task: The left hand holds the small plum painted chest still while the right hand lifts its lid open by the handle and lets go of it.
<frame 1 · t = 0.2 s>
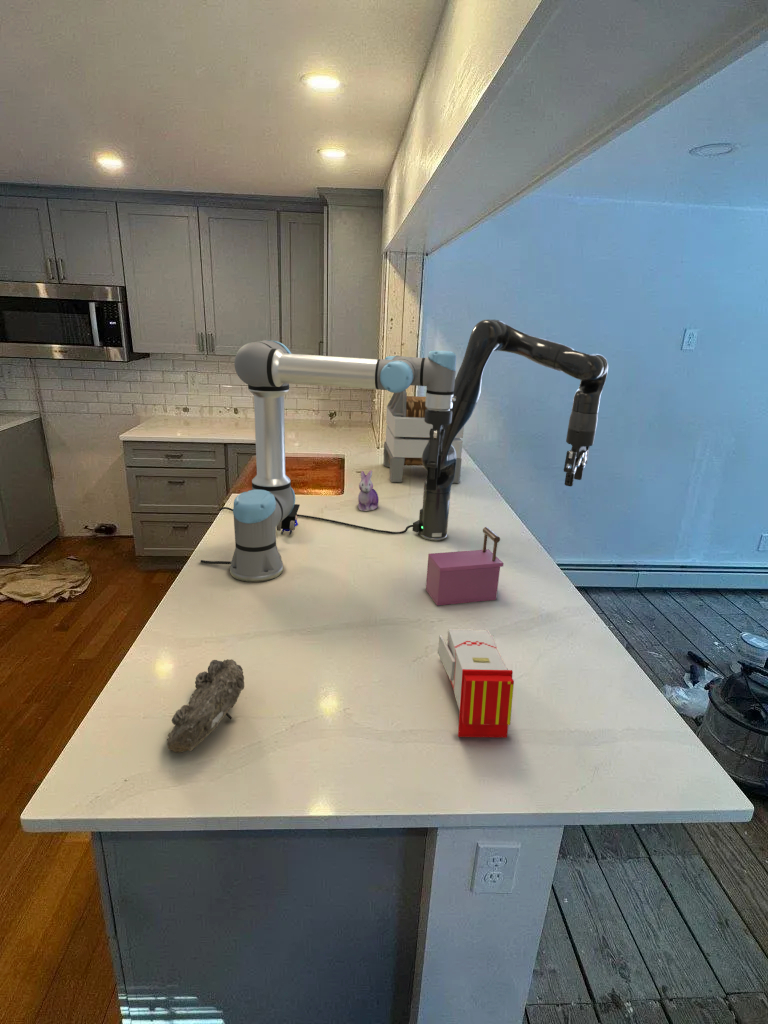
left hand: (433, 482, 163), 28 cm above the counter, tool pointing down, fingers open, 13 cm apart
right hand: (573, 482, 165), 29 cm above the counter, tool pointing down, fingers open, 8 cm apart
figurine: (367, 508, 224), on the counter
chest: (460, 594, 159), on the counter
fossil: (212, 717, 108), on the counter
grey slatted box: (419, 473, 275), on the counter
lid: (466, 547, 154), point 14 cm above the counter, hinge at 0.0°
figurine character: (288, 529, 199), on the counter
toy: (469, 691, 119), on the counter
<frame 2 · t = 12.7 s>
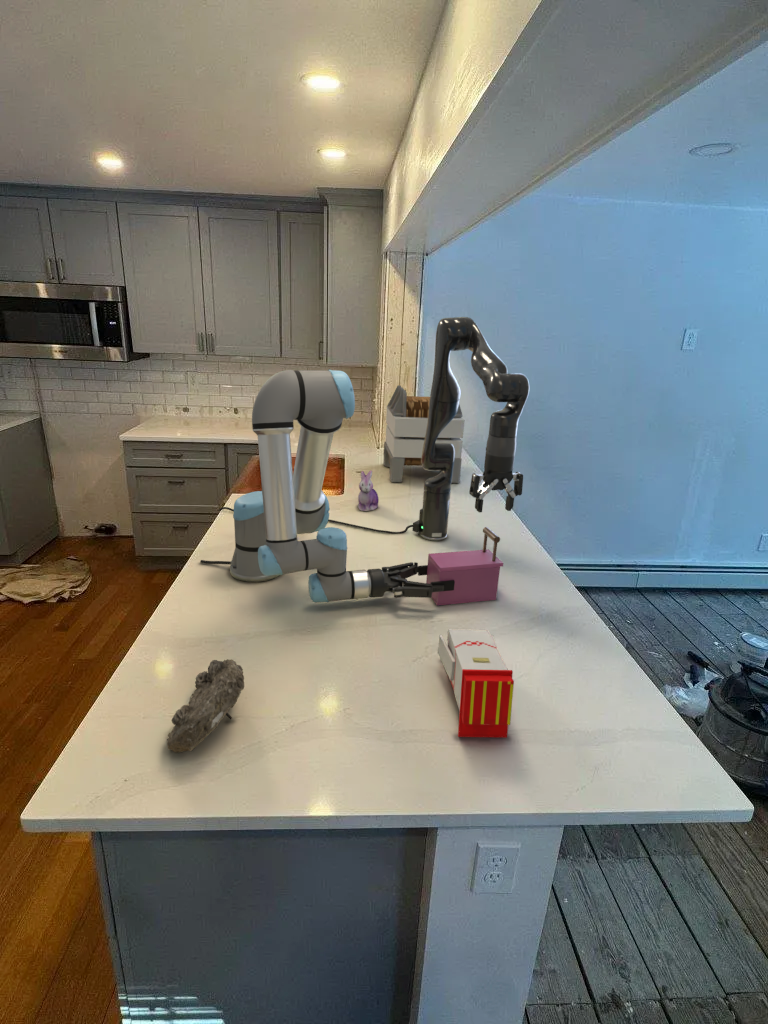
left hand: (446, 576, 156), 6 cm above the counter, tool horizontal, fingers closed on chest, 9 cm apart
right hand: (493, 510, 153), 25 cm above the counter, tool pointing down, fingers open, 8 cm apart
chest: (460, 594, 159), on the counter, touching left hand
everything else where it was.
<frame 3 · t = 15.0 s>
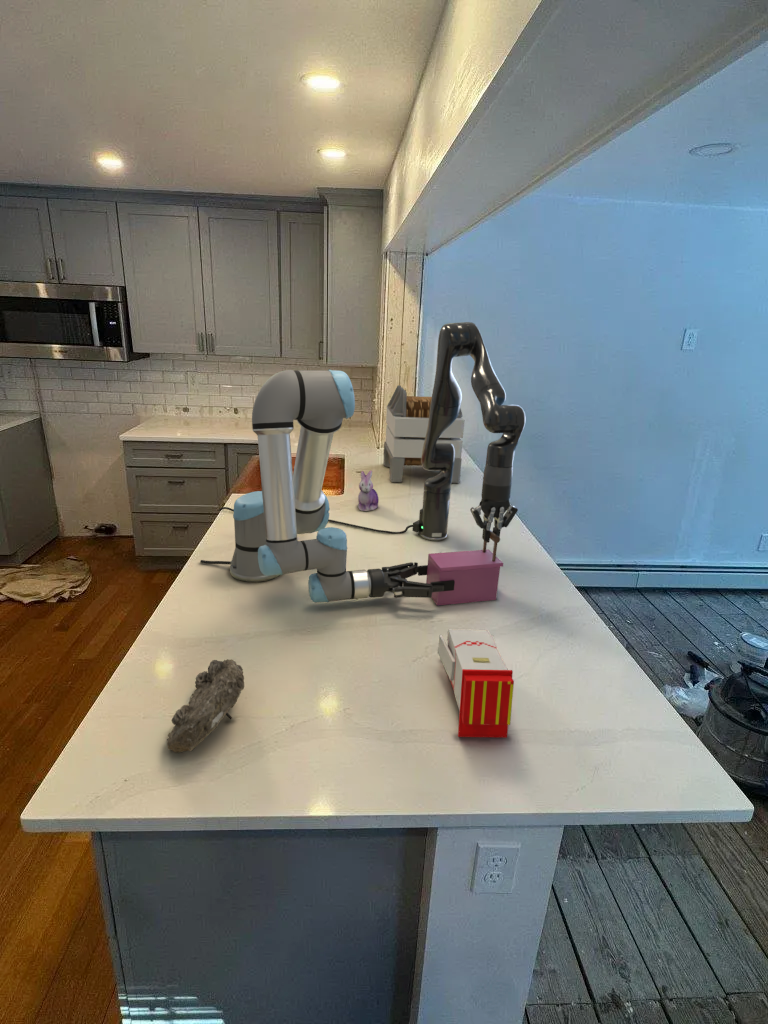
left hand: (446, 576, 156), 6 cm above the counter, tool horizontal, fingers closed on chest, 9 cm apart
right hand: (490, 541, 156), 16 cm above the counter, tool pointing down, fingers closed on lid, 2 cm apart
chest: (460, 594, 159), on the counter, touching left hand
lid: (466, 547, 154), point 14 cm above the counter, hinge at -0.1°, touching right hand
everything else where it was.
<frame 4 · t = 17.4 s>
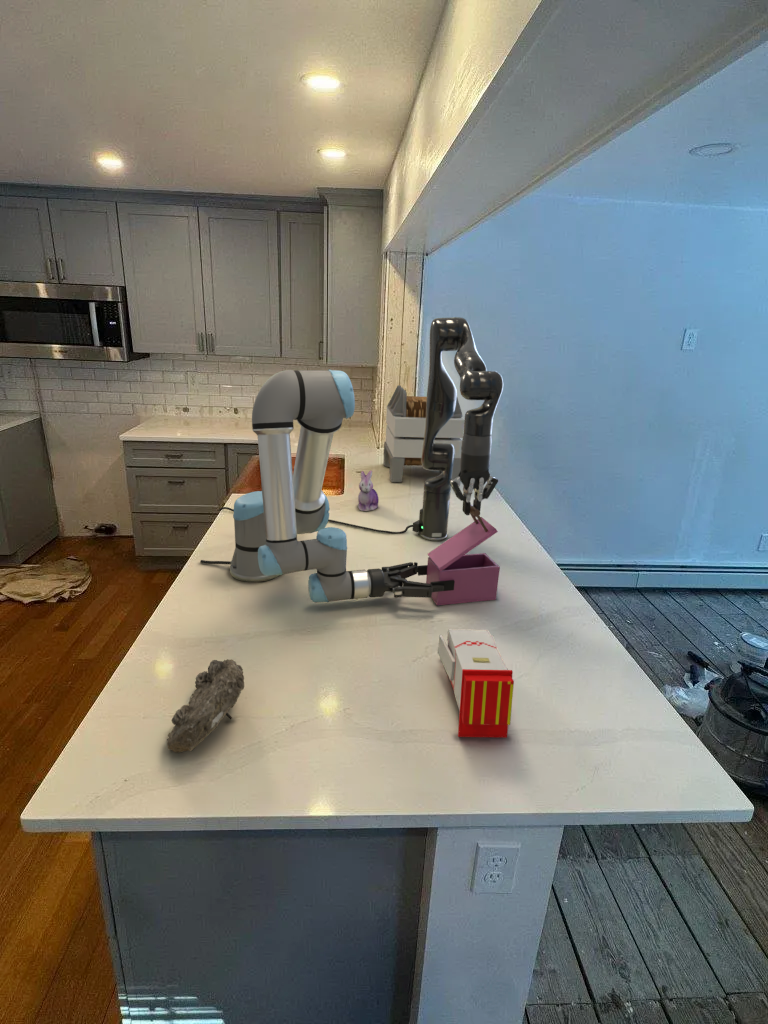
left hand: (446, 576, 156), 6 cm above the counter, tool horizontal, fingers closed on chest, 9 cm apart
right hand: (471, 513, 151), 24 cm above the counter, tool pointing down, fingers closed on lid, 2 cm apart
chest: (460, 594, 159), on the counter, touching left hand
lid: (455, 533, 152), point 19 cm above the counter, hinge at 33.8°, touching right hand
everything else where it was.
when the left hand's fingers open (6 cm above the counter, at t = 24.0 s): chest stays where it is, on the counter.
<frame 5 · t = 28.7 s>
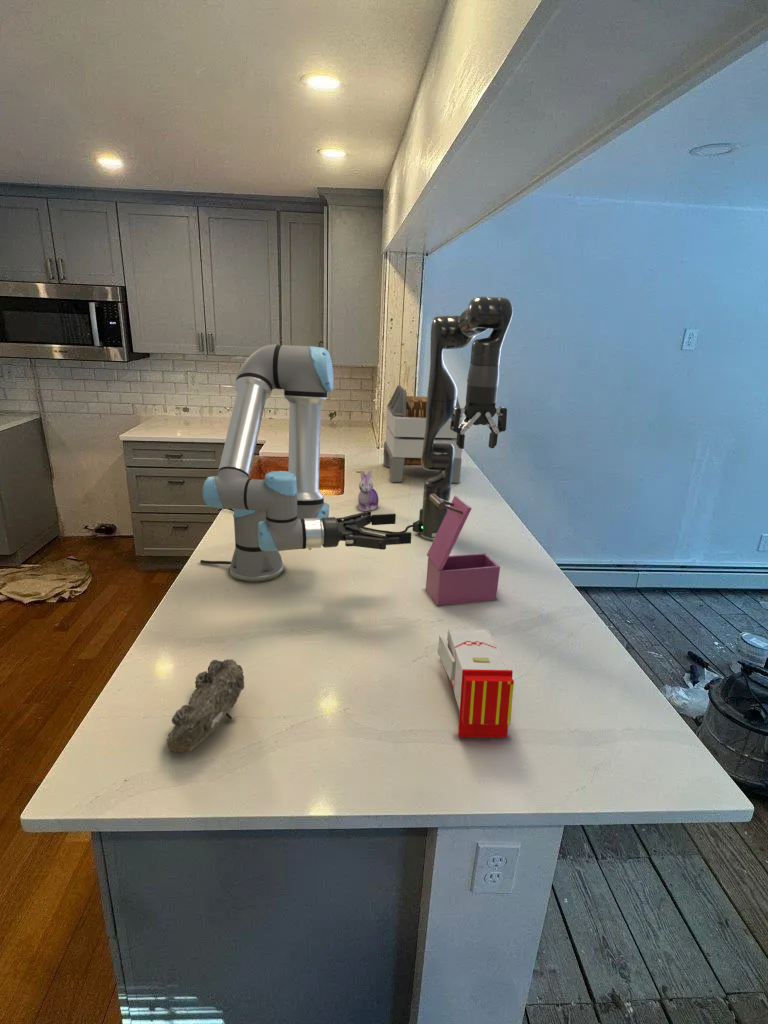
left hand: (402, 527, 147), 21 cm above the counter, tool horizontal, fingers open, 13 cm apart
right hand: (476, 448, 145), 42 cm above the counter, tool pointing down, fingers open, 8 cm apart
chest: (460, 594, 159), on the counter
lid: (436, 528, 150), point 21 cm above the counter, hinge at 68.3°
everything else where it was.
at the end: lid at +68° (first picture: +0°); the left hand is holding nothing; the right hand is holding nothing; chest tilted 0°; chest never tilted more than 1° during the clip; chest moved 0.0 cm from its start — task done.
